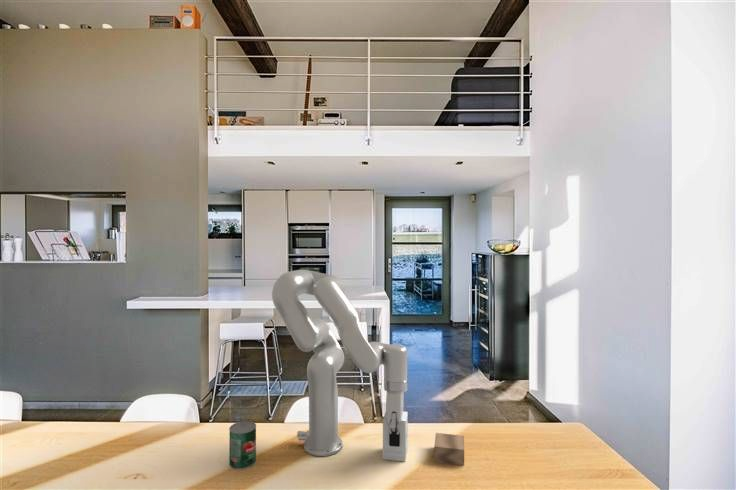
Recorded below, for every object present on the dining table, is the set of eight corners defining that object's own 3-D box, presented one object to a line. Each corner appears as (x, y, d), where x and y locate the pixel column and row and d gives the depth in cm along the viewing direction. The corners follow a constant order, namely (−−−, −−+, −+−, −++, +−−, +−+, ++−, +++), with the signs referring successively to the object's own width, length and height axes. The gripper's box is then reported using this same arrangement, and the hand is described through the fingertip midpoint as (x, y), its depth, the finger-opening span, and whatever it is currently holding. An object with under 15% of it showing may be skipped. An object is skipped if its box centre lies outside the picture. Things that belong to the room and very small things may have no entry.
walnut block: (434, 462, 122) (434, 446, 122) (435, 447, 131) (435, 432, 131) (464, 466, 120) (464, 449, 120) (463, 451, 129) (463, 435, 129)
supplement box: (405, 462, 121) (405, 421, 121) (382, 459, 123) (382, 419, 123) (408, 449, 129) (408, 411, 129) (385, 447, 130) (385, 409, 130)
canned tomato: (254, 468, 118) (254, 431, 118) (227, 471, 117) (227, 433, 117) (257, 454, 126) (257, 420, 126) (231, 456, 125) (231, 421, 125)
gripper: (386, 374, 135) (386, 426, 135) (380, 393, 118) (380, 452, 118) (408, 375, 134) (408, 427, 134) (405, 395, 117) (405, 454, 117)
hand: (395, 439), depth 126 cm, fingers closed on supplement box, 7 cm apart
